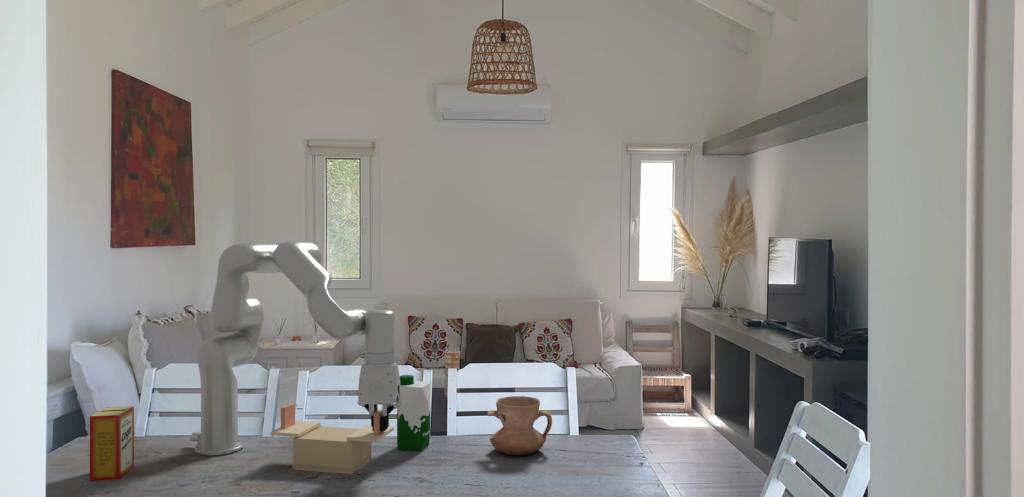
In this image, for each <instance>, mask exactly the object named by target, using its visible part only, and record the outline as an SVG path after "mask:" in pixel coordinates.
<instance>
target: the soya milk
mask: <svg viewBox="0 0 1024 497" xmlns="http://www.w3.org/2000/svg"><path fill="white" fill-rule="evenodd" d="M399 376H400V387H401V397H400V398H401V401H402V404H403V405H402V406H401V407H399V408H396V450H397V451H405V450H410V451H409V452H423V451H424V450H425V449H426V448H427V447H428V446H430V440H431V439H430V438H431V387H432V386H431V382H430V381H429V382H428V381H422V380H421V381H419V380H418V381H416V380H414V379H415V377H414V375H412V374H411V375H410V374H403V375H399ZM426 446H427V447H426ZM425 447H426V448H425ZM424 448H425V449H424ZM423 449H424V450H423Z"/></svg>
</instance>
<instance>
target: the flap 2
mask: <svg viewBox="0 0 1024 497" xmlns="http://www.w3.org/2000/svg"><path fill="white" fill-rule="evenodd" d="M381 416H382V408H380V409H378V411H377V412H375V413H374V431H372V427H371V425H368V424H367V425H364V426H363V427H361V428H358V429H359V430H358V431H356V432H355V433H353V434H351V435H350V436H348V437H347V440H349V441H363V442H371V443H377V442H379V441H381V439H383V438H385V437H386V436H387V435H389V434H390V433H392V432H393V431H394V430H395V427H394V426H388V428H387V430H385V431H384V432H381V431H380V417H381Z"/></svg>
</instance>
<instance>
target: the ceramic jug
mask: <svg viewBox="0 0 1024 497" xmlns="http://www.w3.org/2000/svg"><path fill="white" fill-rule="evenodd" d="M540 403H541V400H540V399H538V398H537V397H532V396H524V395H522V396H521V395H513V396H504V397H500V398H498V399H496V401H495V405H496V410H494V409H492V410H491V409H490V410H489V411H487V415H488V416H489V417H492V416H494V417H495V418H497V419H499V421H500V422H501V425H502V428H500V429H498V430H497V431H496V432H495V433H494V434H493V435H492V436H490V438H489V443H491V445H492V446H493V449H495V450H497V451H498V452H500V453H502V454H505V455H510V456H511V455H512V456H525V455H528V454H529V455H530V454H533V453H535V452H537V451H539V450H540V449H542V448H543V446H544V445H545V442H546V440H547V436H548V434H549V433H550V431H551V429H552V426H553V417H552V414H551V413H550V412H549V411H547V410H542V411H540V407H541V405H540ZM541 417H546V421H547V423H546V427H545V429H544V432H543V433H541V432H540V431H538V430H537V429H536V428H535V427H534V424H535V422H536V420H538V419H539V418H541Z"/></svg>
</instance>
